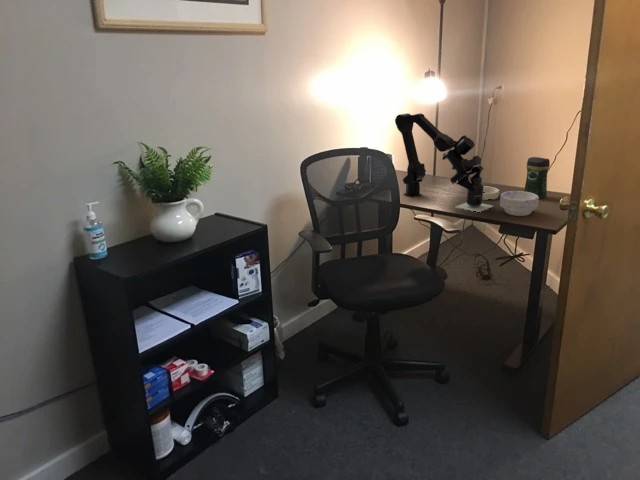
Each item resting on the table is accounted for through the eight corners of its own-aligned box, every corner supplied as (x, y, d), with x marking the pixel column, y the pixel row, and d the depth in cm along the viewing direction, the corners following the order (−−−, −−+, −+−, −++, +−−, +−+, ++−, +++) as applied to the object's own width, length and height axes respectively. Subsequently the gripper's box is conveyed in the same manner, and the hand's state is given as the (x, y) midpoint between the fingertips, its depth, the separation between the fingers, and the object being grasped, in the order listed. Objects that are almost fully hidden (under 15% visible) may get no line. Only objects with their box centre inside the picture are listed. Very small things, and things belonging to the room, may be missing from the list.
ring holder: (461, 195, 252) (462, 189, 251) (481, 190, 259) (482, 184, 258) (484, 201, 241) (484, 195, 240) (504, 196, 248) (505, 190, 247)
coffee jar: (548, 197, 244) (553, 157, 238) (539, 200, 240) (543, 160, 233) (530, 193, 251) (534, 155, 245) (520, 196, 247) (524, 157, 241)
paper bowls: (534, 220, 213) (536, 201, 210) (495, 215, 220) (497, 197, 217) (539, 210, 225) (541, 192, 223) (503, 206, 233) (504, 189, 230)
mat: (455, 207, 233) (455, 206, 233) (469, 202, 240) (469, 201, 240) (479, 212, 225) (479, 211, 224) (493, 206, 232) (493, 205, 232)
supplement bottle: (476, 207, 228) (478, 180, 223) (463, 204, 233) (464, 178, 228) (485, 203, 232) (487, 177, 228) (471, 200, 237) (473, 174, 232)
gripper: (458, 153, 221) (479, 183, 217) (481, 147, 233) (501, 175, 229) (441, 169, 229) (461, 198, 225) (464, 162, 241) (484, 189, 237)
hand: (477, 189), depth 229 cm, fingers closed on supplement bottle, 7 cm apart
